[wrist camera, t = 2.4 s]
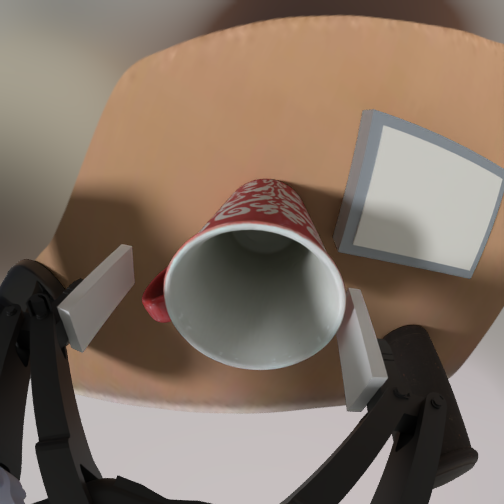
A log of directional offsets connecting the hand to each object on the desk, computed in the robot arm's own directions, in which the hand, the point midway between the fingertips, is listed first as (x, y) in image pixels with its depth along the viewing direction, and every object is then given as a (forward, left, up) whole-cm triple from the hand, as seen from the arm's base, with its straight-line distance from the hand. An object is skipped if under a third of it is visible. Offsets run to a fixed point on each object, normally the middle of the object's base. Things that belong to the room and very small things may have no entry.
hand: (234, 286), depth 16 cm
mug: (0, 0, -11) cm, 11 cm away
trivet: (+16, +6, -11) cm, 20 cm away
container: (+22, -13, -11) cm, 27 cm away
